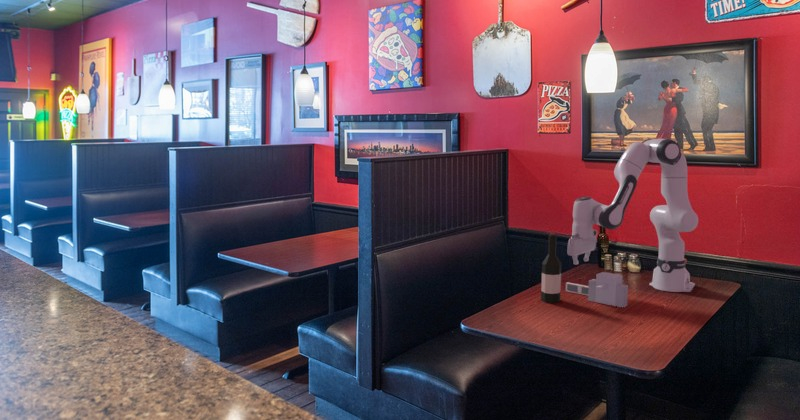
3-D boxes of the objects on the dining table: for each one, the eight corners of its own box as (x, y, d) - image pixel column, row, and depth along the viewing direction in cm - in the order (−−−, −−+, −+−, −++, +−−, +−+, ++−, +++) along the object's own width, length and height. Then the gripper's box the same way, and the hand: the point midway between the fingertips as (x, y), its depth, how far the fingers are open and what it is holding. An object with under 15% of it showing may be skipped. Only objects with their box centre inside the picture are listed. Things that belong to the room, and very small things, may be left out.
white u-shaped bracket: (576, 286, 291) (577, 278, 290) (604, 292, 281) (604, 283, 280) (565, 291, 283) (565, 282, 283) (593, 296, 273) (593, 288, 273)
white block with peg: (594, 297, 272) (595, 270, 270) (629, 304, 261) (630, 276, 259) (580, 303, 263) (581, 275, 261) (615, 311, 252) (616, 282, 250)
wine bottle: (558, 298, 272) (560, 232, 268) (561, 303, 264) (563, 235, 260) (539, 297, 273) (541, 231, 269) (542, 302, 265) (544, 235, 261)
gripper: (577, 236, 265) (575, 267, 267) (599, 231, 280) (597, 260, 282) (564, 234, 270) (563, 265, 272) (586, 229, 284) (585, 258, 286)
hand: (581, 262), depth 277 cm, fingers open, 8 cm apart
